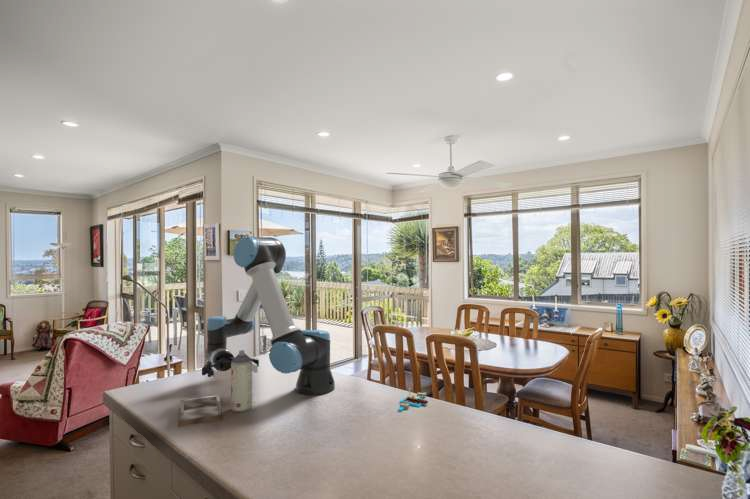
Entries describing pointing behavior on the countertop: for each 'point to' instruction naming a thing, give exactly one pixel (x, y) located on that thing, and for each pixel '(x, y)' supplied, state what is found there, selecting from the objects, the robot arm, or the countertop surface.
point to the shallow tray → (200, 410)
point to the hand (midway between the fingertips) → (237, 372)
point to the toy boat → (412, 399)
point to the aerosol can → (241, 383)
